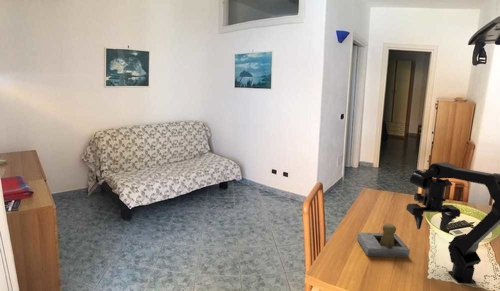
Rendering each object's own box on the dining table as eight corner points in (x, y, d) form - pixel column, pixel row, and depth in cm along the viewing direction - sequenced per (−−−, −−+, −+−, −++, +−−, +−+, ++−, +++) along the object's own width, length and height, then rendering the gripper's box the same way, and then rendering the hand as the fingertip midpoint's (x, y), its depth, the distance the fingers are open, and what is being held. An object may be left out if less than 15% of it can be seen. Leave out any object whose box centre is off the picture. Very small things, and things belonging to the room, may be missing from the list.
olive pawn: (381, 243, 139) (384, 220, 136) (395, 248, 135) (399, 224, 133) (376, 248, 134) (380, 225, 132) (391, 253, 131) (395, 229, 128)
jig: (408, 257, 128) (409, 249, 128) (367, 256, 128) (368, 248, 128) (394, 240, 141) (395, 233, 140) (356, 239, 141) (357, 232, 140)
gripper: (447, 186, 131) (440, 221, 135) (402, 185, 131) (397, 219, 135) (464, 197, 121) (457, 234, 124) (416, 195, 121) (410, 232, 124)
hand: (429, 229), depth 127 cm, fingers open, 9 cm apart
